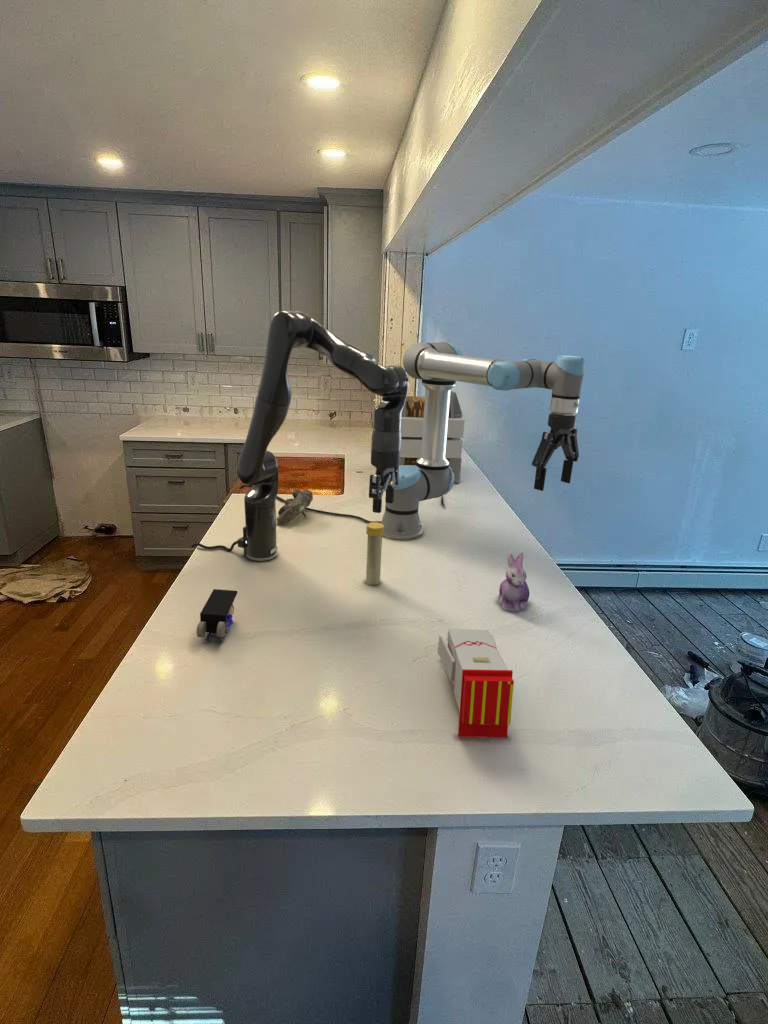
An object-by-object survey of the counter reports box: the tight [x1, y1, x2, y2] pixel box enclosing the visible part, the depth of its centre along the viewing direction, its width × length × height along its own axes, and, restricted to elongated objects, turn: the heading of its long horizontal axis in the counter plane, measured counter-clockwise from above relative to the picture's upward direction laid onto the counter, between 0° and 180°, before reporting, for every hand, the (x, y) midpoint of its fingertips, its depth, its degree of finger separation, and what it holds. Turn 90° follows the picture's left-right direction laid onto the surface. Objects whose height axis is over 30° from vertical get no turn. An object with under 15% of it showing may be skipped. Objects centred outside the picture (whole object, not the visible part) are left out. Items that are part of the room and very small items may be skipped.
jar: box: [365, 535, 383, 586], centre depth 161 cm, size 4×4×17 cm
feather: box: [440, 495, 445, 508], centre depth 240 cm, size 2×28×2 cm
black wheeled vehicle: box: [196, 588, 238, 643], centre depth 135 cm, size 7×8×15 cm
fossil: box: [276, 488, 314, 526], centre depth 210 cm, size 22×10×15 cm
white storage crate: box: [399, 390, 465, 484], centre depth 268 cm, size 34×33×41 cm
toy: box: [437, 628, 515, 738], centre depth 117 cm, size 12×13×30 cm
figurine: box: [497, 551, 530, 612], centre depth 152 cm, size 9×10×15 cm
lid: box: [365, 522, 384, 537], centre depth 159 cm, size 5×5×2 cm
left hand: (383, 507), depth 149 cm, fingers open, 8 cm apart
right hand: (552, 485), depth 166 cm, fingers open, 13 cm apart
